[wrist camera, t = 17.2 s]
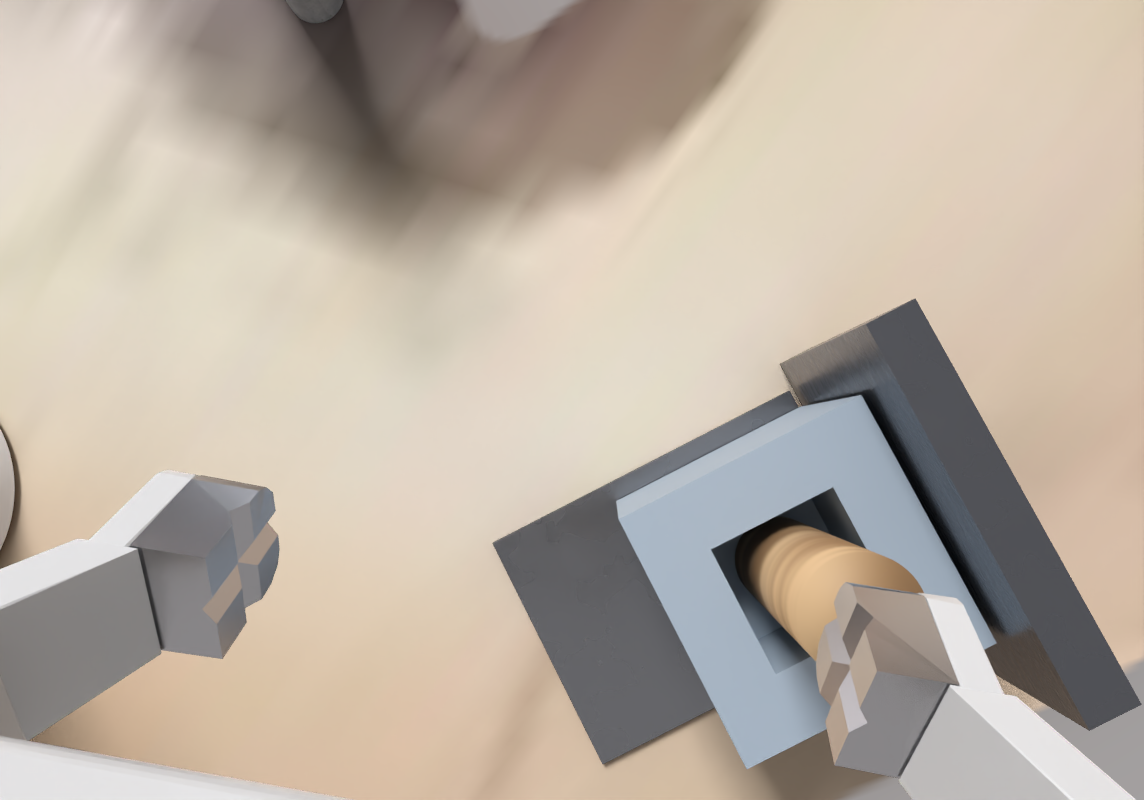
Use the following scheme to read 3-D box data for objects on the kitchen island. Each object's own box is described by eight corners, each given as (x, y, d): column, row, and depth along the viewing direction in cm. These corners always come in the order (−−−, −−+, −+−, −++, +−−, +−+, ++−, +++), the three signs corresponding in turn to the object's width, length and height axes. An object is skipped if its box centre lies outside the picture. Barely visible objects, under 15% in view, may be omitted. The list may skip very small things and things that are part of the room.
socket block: (712, 688, 40) (746, 769, 30) (616, 500, 41) (618, 519, 31) (900, 593, 40) (996, 643, 30) (799, 406, 41) (861, 394, 31)
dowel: (732, 599, 36) (794, 677, 24) (737, 513, 36) (801, 547, 24) (819, 607, 35) (926, 689, 23) (824, 520, 36) (933, 557, 24)
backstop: (615, 787, 41) (619, 966, 27) (480, 517, 42) (417, 554, 28) (958, 614, 41) (1141, 704, 27) (812, 347, 42) (915, 298, 28)
